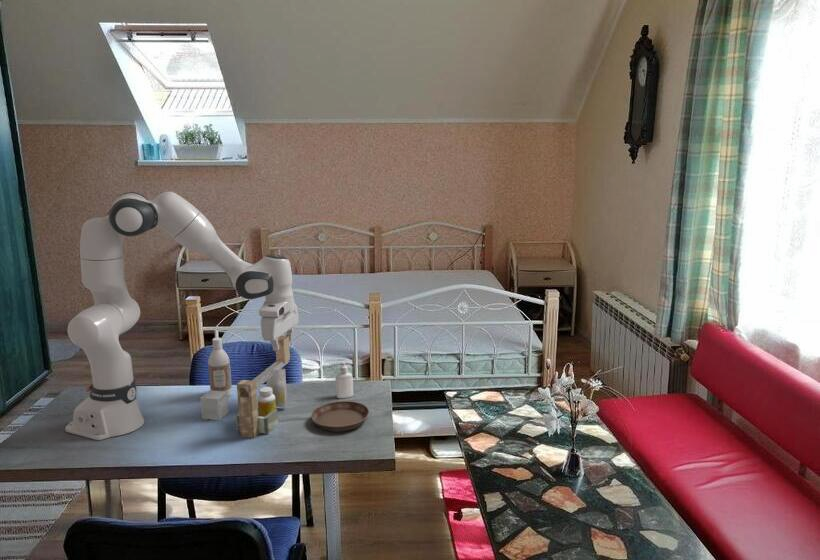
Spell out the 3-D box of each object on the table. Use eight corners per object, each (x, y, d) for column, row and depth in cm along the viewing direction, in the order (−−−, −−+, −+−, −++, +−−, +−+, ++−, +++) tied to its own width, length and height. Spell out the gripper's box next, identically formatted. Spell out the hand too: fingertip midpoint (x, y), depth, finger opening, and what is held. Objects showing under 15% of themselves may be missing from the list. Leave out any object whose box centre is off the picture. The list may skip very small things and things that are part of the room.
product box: (219, 421, 195) (217, 399, 194) (201, 419, 196) (199, 397, 195) (229, 412, 201) (227, 391, 199) (211, 411, 202) (209, 389, 201)
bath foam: (210, 399, 211) (204, 342, 206) (212, 391, 217) (207, 336, 213) (231, 397, 212) (226, 341, 208) (232, 389, 219) (228, 334, 214)
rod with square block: (241, 430, 187) (236, 363, 182) (279, 394, 212) (276, 335, 207) (259, 432, 185) (255, 364, 180) (296, 396, 210) (293, 336, 205)
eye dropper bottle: (351, 399, 210) (350, 365, 207) (335, 398, 211) (333, 364, 208) (354, 394, 214) (353, 360, 211) (338, 393, 215) (337, 360, 212)
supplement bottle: (272, 422, 194) (270, 393, 191) (255, 421, 195) (253, 392, 192) (279, 415, 199) (277, 386, 196) (263, 413, 200) (261, 385, 198)
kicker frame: (232, 435, 186) (227, 382, 182) (248, 420, 195) (244, 370, 191) (263, 439, 183) (259, 385, 179) (278, 423, 193) (275, 372, 189)
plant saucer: (307, 435, 186) (306, 426, 185) (316, 409, 203) (315, 401, 202) (367, 435, 185) (367, 425, 185) (371, 409, 203) (371, 400, 202)
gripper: (284, 295, 212) (287, 335, 215) (256, 312, 193) (259, 355, 196) (302, 296, 211) (304, 336, 214) (275, 313, 191) (278, 356, 194)
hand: (282, 345), depth 205 cm, fingers open, 8 cm apart
